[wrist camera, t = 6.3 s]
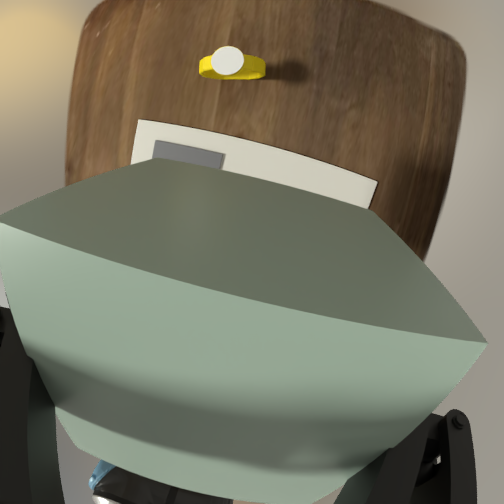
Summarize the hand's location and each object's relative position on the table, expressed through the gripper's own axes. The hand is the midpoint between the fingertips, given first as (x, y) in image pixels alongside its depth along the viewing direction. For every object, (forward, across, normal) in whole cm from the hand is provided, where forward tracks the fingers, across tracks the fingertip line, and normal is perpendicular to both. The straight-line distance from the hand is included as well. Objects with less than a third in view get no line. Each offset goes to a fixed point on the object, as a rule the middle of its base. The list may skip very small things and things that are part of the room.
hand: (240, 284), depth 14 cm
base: (+18, +2, 0) cm, 18 cm away
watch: (+18, +6, -12) cm, 22 cm away
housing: (0, 0, 0) cm, 0 cm away
